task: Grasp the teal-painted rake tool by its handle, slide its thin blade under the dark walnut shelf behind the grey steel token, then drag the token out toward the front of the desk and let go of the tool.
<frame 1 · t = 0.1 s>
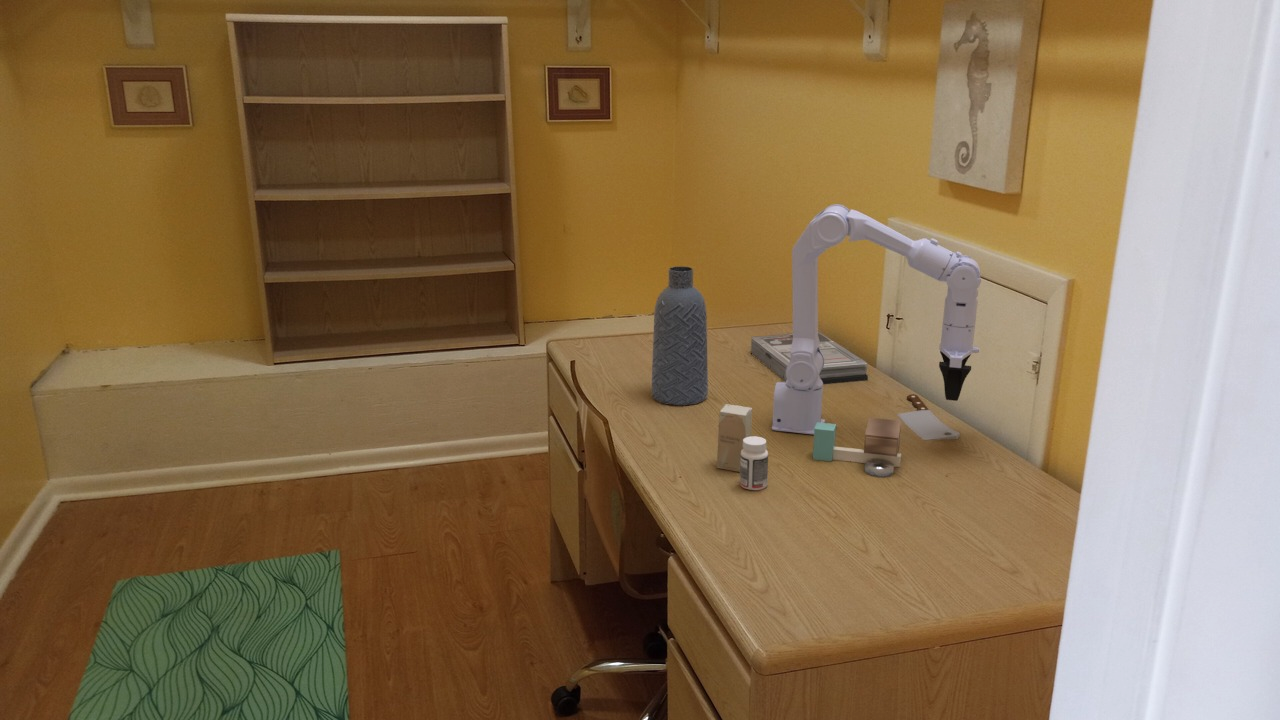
hand: (951, 393, 188), 10 cm above the table, fingers open, 7 cm apart
token: (878, 472, 179), on the table
box: (733, 467, 181), on the table
vase: (679, 397, 216), on the table
kitchen cleaver: (918, 420, 204), on the table
hard drive: (805, 368, 237), on the table
rake tool: (823, 456, 185), on the table
cabinet: (880, 463, 182), on the table
pill bottle: (753, 486, 173), on the table
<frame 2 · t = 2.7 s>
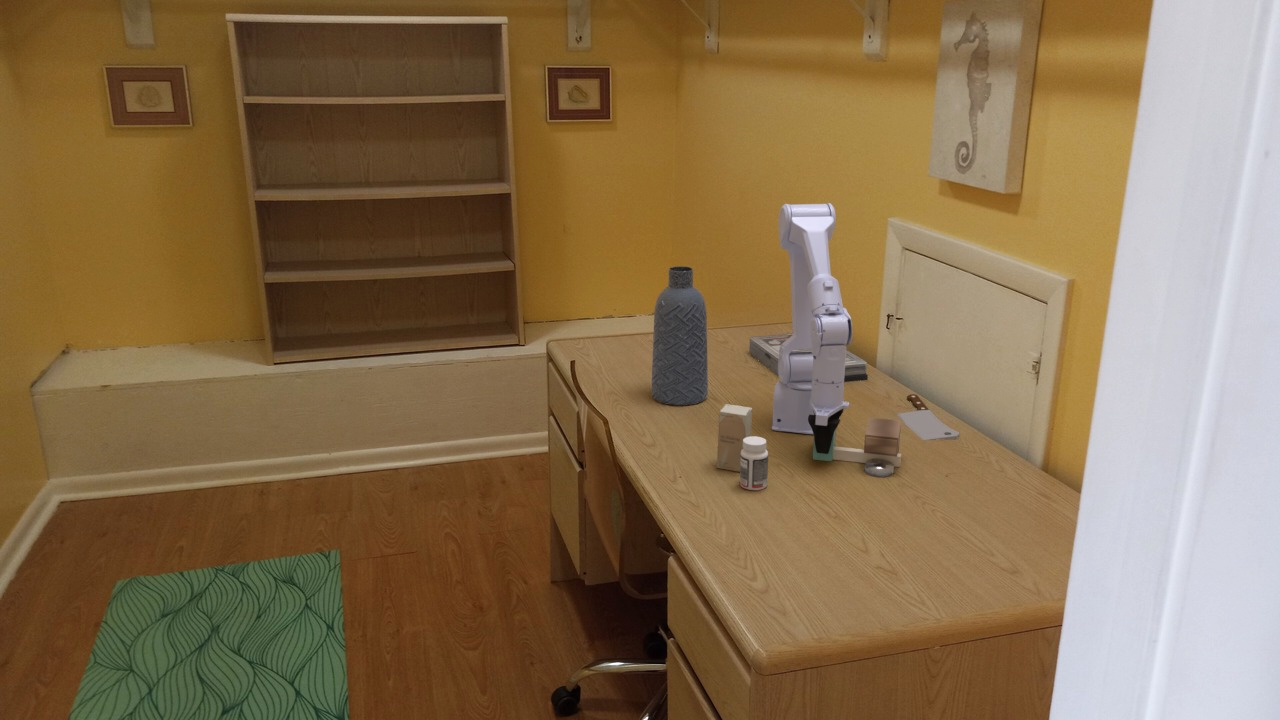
hand: (824, 448, 185), 2 cm above the table, fingers closed on rake tool, 3 cm apart
rake tool: (823, 456, 185), on the table, touching gripper
everything else where it was.
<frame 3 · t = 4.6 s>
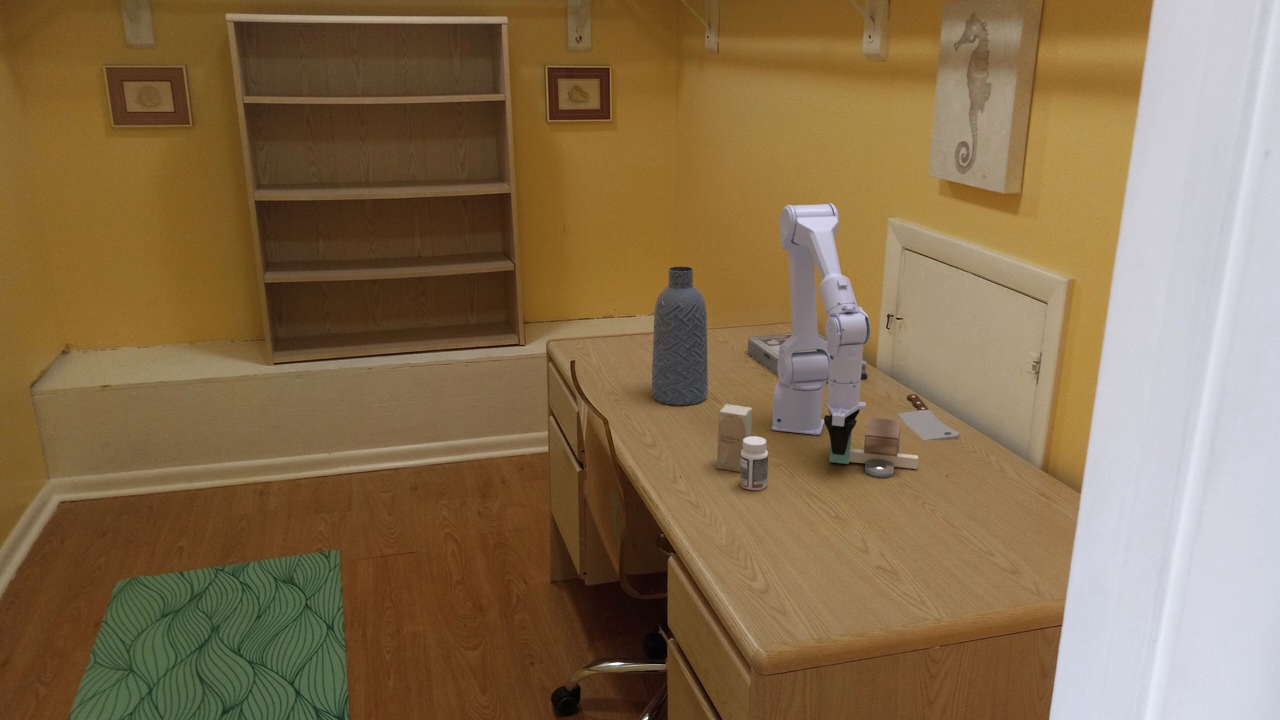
hand: (839, 449, 182), 2 cm above the table, fingers closed on rake tool, 4 cm apart
rake tool: (839, 459, 183), point 1 cm above the table, touching gripper
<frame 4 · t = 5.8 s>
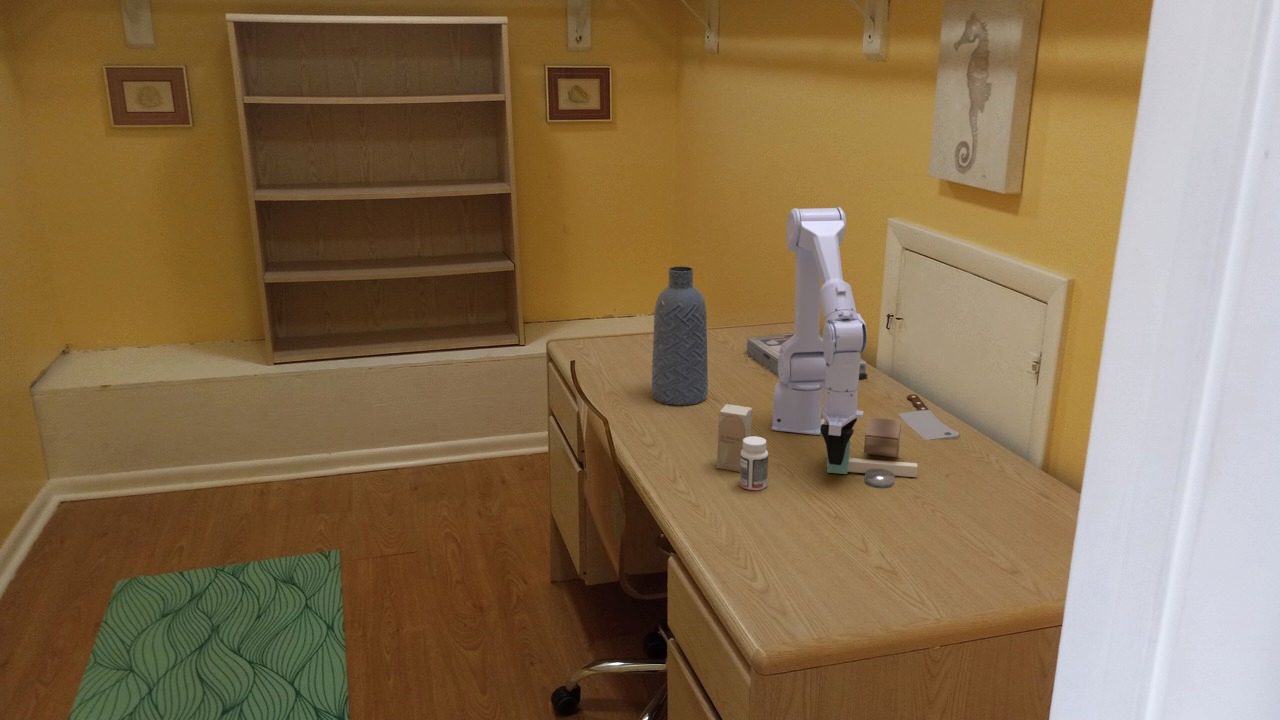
hand: (836, 459, 178), 2 cm above the table, fingers closed on rake tool, 4 cm apart
token: (879, 483, 175), on the table
rake tool: (836, 469, 179), on the table, touching gripper
everything else where it was.
when the fingers open (2 cm above the table, at t = 6.8 s): rake tool stays where it is, on the table.
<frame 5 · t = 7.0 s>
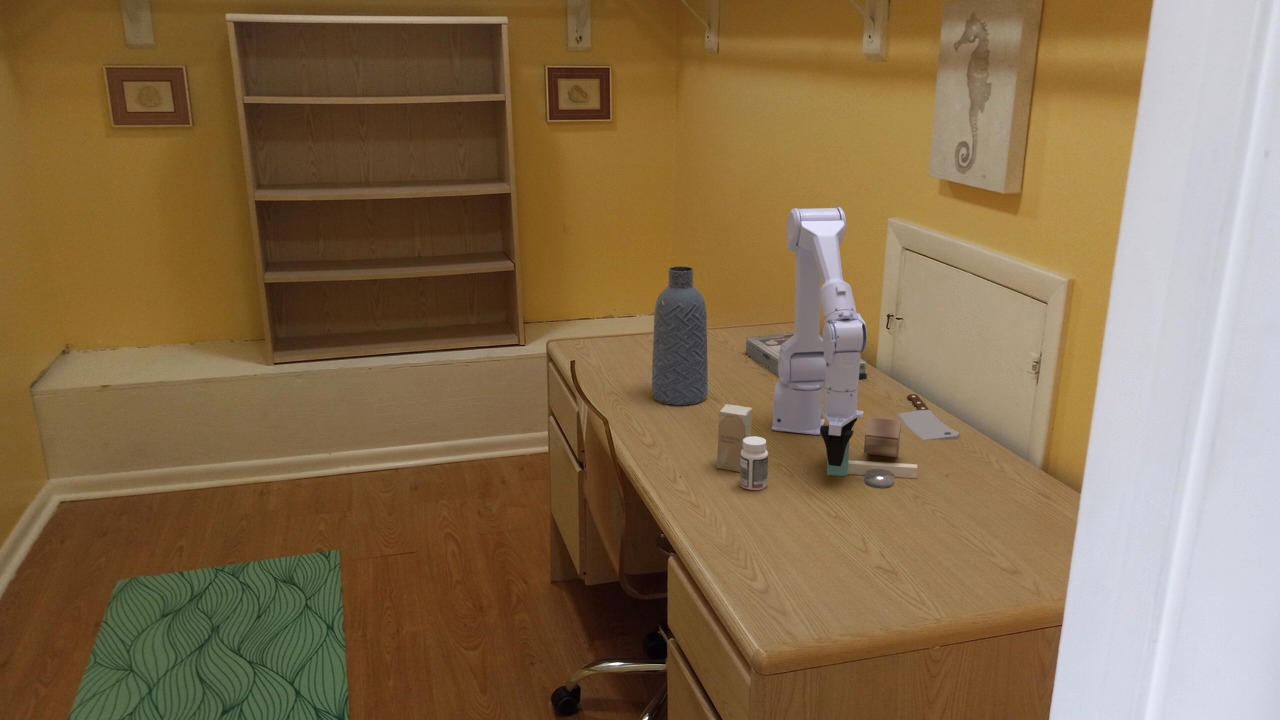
hand: (836, 459, 178), 2 cm above the table, fingers open, 5 cm apart
rake tool: (837, 471, 179), on the table
everything else where it was.
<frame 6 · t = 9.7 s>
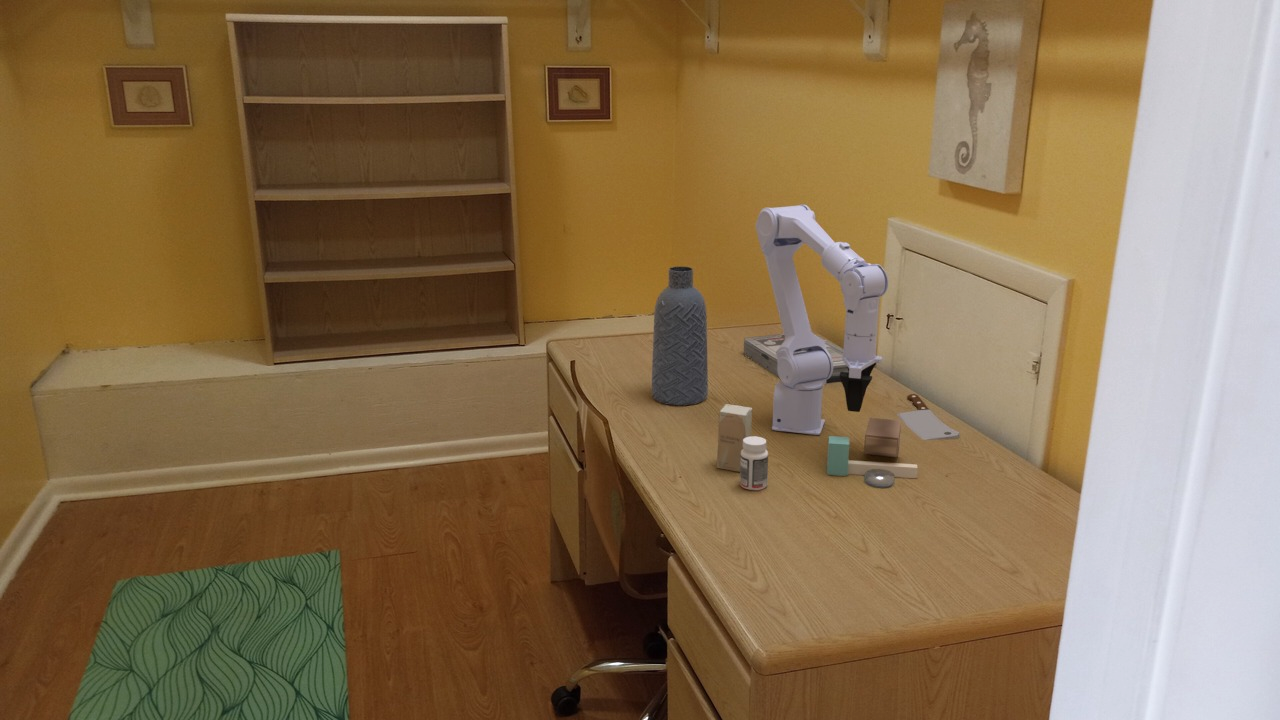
hand: (856, 403, 183), 10 cm above the table, fingers open, 7 cm apart
at the end: token inside the target area (6.2 cm from its centre), on the table; token moved 4.6 cm from its start; the gripper is holding nothing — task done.
